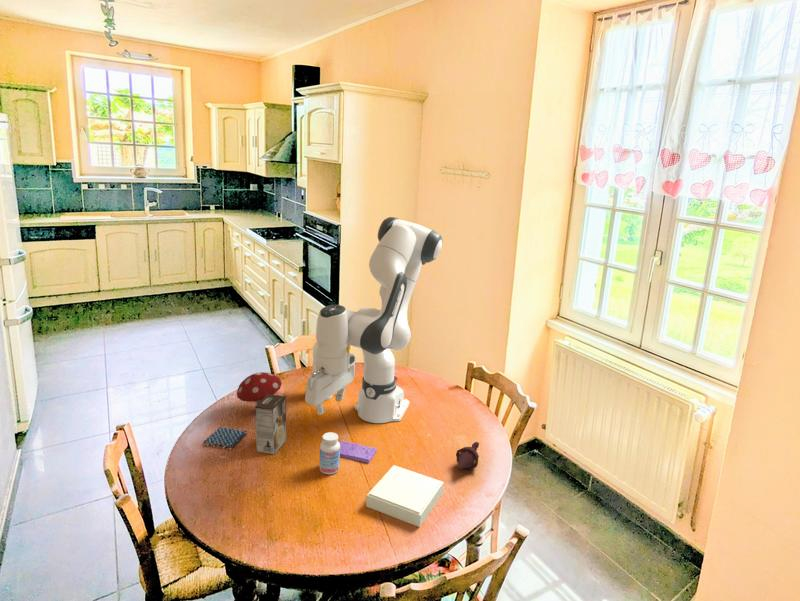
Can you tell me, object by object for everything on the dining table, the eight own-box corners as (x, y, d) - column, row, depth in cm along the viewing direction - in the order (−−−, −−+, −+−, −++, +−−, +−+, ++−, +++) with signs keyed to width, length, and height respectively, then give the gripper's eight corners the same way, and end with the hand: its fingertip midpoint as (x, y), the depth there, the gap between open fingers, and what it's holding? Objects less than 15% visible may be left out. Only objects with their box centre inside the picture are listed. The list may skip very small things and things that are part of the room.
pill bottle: (320, 476, 150) (321, 442, 147) (318, 464, 156) (318, 431, 153) (341, 474, 152) (341, 440, 149) (338, 462, 157) (338, 429, 154)
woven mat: (219, 430, 172) (218, 425, 171) (248, 435, 170) (247, 429, 170) (201, 447, 162) (201, 441, 162) (232, 452, 160) (232, 446, 160)
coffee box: (268, 436, 169) (267, 392, 164) (286, 439, 168) (286, 395, 163) (255, 451, 160) (254, 405, 156) (274, 455, 159) (273, 409, 155)
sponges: (369, 464, 158) (369, 459, 157) (332, 456, 161) (332, 450, 161) (377, 453, 164) (377, 447, 164) (341, 444, 168) (341, 439, 167)
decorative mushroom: (271, 425, 176) (270, 386, 172) (228, 419, 178) (226, 380, 174) (289, 404, 191) (288, 367, 187) (249, 398, 193) (248, 362, 189)
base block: (393, 475, 152) (393, 463, 151) (442, 492, 146) (443, 480, 144) (366, 506, 138) (366, 493, 137) (419, 527, 132) (420, 514, 131)
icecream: (473, 465, 148) (489, 445, 161) (451, 452, 151) (469, 433, 164) (465, 484, 150) (481, 463, 164) (443, 471, 153) (461, 451, 166)
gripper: (319, 377, 134) (318, 425, 137) (359, 353, 151) (357, 396, 155) (299, 372, 136) (299, 418, 140) (341, 349, 154) (339, 391, 158)
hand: (330, 406), depth 148 cm, fingers open, 8 cm apart
